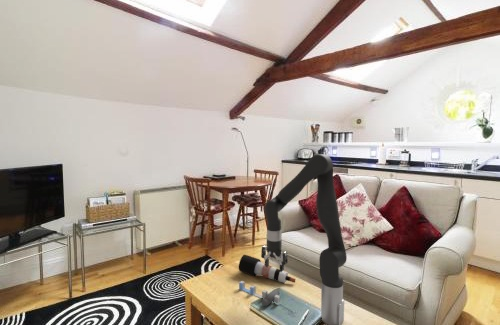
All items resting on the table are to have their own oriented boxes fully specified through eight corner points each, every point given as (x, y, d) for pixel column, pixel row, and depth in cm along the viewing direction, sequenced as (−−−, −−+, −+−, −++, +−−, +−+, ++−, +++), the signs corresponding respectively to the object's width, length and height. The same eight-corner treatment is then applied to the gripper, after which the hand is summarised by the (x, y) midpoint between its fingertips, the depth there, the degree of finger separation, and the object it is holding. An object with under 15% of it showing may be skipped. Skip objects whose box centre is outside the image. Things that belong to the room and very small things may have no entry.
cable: (292, 293, 151) (291, 282, 146) (240, 274, 166) (237, 263, 161) (298, 278, 158) (297, 268, 153) (247, 261, 173) (245, 251, 168)
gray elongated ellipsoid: (275, 293, 143) (275, 287, 143) (280, 295, 141) (280, 289, 141) (260, 306, 132) (260, 299, 132) (266, 308, 130) (266, 301, 130)
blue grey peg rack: (280, 303, 135) (280, 296, 134) (277, 305, 133) (277, 298, 132) (241, 287, 149) (241, 280, 149) (239, 289, 148) (239, 282, 147)
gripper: (290, 238, 135) (290, 270, 136) (266, 233, 144) (266, 262, 145) (282, 243, 129) (282, 276, 130) (258, 237, 138) (258, 267, 139)
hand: (274, 268), depth 138 cm, fingers open, 8 cm apart
